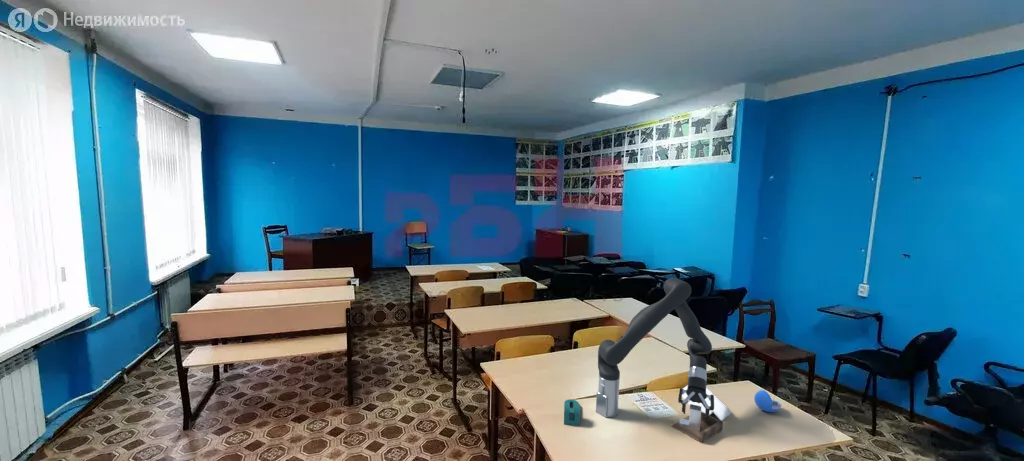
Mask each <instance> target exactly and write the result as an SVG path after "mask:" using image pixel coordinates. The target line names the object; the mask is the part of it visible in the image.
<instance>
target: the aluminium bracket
mask: <svg viewBox="0 0 1024 461" xmlns="http://www.w3.org/2000/svg"><path fill="white" fill-rule="evenodd" d="M688 416H689V420H686V419H684V418H682V417H680V418H679V421H680V425H679V426H680V427H684V428H688V429H692V430H696V431H700V421H701V406H697V405H693V404H690V406H689V415H688Z"/></svg>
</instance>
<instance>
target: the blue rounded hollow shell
mask: <svg viewBox="0 0 1024 461" xmlns="http://www.w3.org/2000/svg"><path fill="white" fill-rule="evenodd" d="M753 400H754V403H755V405H756V406H757V408H758V409H759V410H762V411H763V412H766V413H774V412H778V411H780V409H781V408H782V407H783V405H782V403H781V402H779V401H777V400H775V399H773V398H772V397H771V395H770V394H769V392H767V391H766V390H764V389H761V390H758V391H757V392H756V393H755V394H754V397H753Z"/></svg>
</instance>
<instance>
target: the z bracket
mask: <svg viewBox="0 0 1024 461" xmlns="http://www.w3.org/2000/svg"><path fill="white" fill-rule="evenodd" d="M687 388H688V384H687V385H686V386H684V387H683V389H684V390H687ZM706 394H707V395H714V410H710V411H709V415H710V416H711V415H712V414H714V415H715V417H716V419H718V420H720V421H722V422H723V421H724V420H725V419H726V418H727V417H729V416H730V415H731V414H732V413H733V412H732V411H731V410H730V409H729V408H728V407H727V406H726V405H725V404H724V403H723V402H722V401H721V400H720V399H719V398H717V396H716V395H715V394H713V392H712V391H711V390H710V389H709V388H708V387H706ZM687 396H688V395H687V394H686V393H684V394H682V399H683V400H685V399H686V397H687ZM705 401H706V403H707V404H708V406H711V401H710V400H709V399H708V398H706V399H705ZM690 404H693V405H697V406H701V411H702V412H704V413H705V410H706V409H705V407H704V406H703V405H702V403H697V402H692V401H691V400H690V401H689V402H688V403H687V405H689V407H690Z"/></svg>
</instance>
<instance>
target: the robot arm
mask: <svg viewBox="0 0 1024 461" xmlns="http://www.w3.org/2000/svg"><path fill="white" fill-rule="evenodd" d="M663 290H664V292H665V296H664V297H663V298H661V299H659V301H657V302H655V303H652V304H649V305H647V306H645V307H643V308H642V309H640V310H639V312H638V313H637V314H635V315H634V316H633V317H632V319H631V320H630V321H629V323H628V326H627V329H626V332H625V333H624V334H623V335H622V337H620V338H619V340H617V341H616V342H615V341H614V340H612V339H604V340H603V341H602V342H601V343H600V344H599V346H598V349H597V368H598V388H597V389H598V390H597V391H596V401H595V403H596V404H595V412H596V413H597V414H599V415H601V416H602V417H604V418H614V417H616V416H618V412H619V395H620V394H619V393H620V377H621V373H620V368H619V366H618V365H620V364H621V363H622V362H623V360H624V359H626V358H627V357H628V355H629V354H630V352H631V351H632V350H633V349H634V348H635V347H636V346H637V345H638V344H639V343H640V342H641V341H642V340H643V339H644V338H645V337H646V336H647V335H648V334H649V333H651V331H652V330H653V329H654V328H655V327H657V325H658V324H659V323H660V322H662V321H663V320H664V319H665V318H666V317H667V316H668V315H669V314H670V313H671V312H672V311H673V310H675V312H676V313H677V315H678V318H679V320H680V323H681V324H682V327H683V329H684V332H685V334H686V336H687V337H688V338H690V339H688V341H687V342H686V346H687V350H688V355H689V370H688V373H687V374H688V376H687V377H688V378H687V385H688V388H687V390H684V388H683V387H680V388H679V391H678V398H677V399H678V400H677V402H678V403H679V404H681V405H682V407H681V412H682V413H683V414H684V415H685V414H686V406H687V405H688V402H689V401H690V400H691V401H692V402H697V403H702V405H703V406H704V407H705V409H706V410H705V419H707V418H709V411H710V410H714V395H715V394H714V395H707V394H706V388H707V381H708V380H707V378H708V377H707V366H708V365H707V364H708V363H707V359H706V358H705V357H703V356H701V355H704V354H705V355H706V354H711V352H712V351H713V346H712V343H711V341H710V339H709V338H708V336H707V335H706V334H705V333H704V331H703V330H702V327H701V326H700V323H699V321H698V318H697V317H696V315H695V314H694V312H693V310H691V308H690V307H689V305H688V303H687V301H686V300H687V299H689V297H690V296H691V294H692V287H691V285H690V284H689V283H688V282H686V281H684V280H682V279H680V278H677V277H676V278H675V277H670V278H667V279H666V280H665V282H664V284H663ZM698 354H700V355H698ZM684 393H686V394H687V395H688V396H687V397H686V399H685V400H684V399H683V397H682V394H684ZM706 398H708V399H709V400H710V401H711V406H708V404H707V403H706V401H705V399H706Z"/></svg>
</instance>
